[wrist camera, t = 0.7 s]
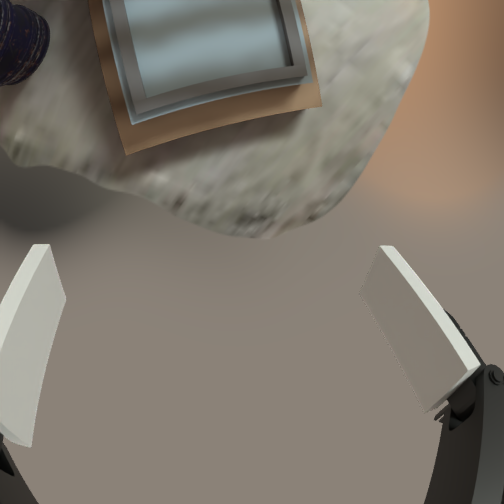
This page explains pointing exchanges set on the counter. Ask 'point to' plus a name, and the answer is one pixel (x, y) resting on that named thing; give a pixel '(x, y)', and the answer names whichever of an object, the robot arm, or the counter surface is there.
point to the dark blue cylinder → (21, 42)
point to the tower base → (201, 64)
